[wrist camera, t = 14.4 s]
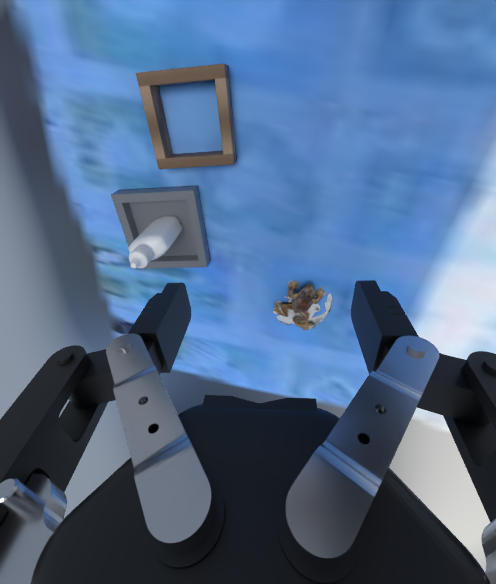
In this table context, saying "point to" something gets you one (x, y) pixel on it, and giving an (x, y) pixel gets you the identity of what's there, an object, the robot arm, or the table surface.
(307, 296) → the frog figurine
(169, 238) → the eye dropper bottle
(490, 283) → the table surface
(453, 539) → the robot arm
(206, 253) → the tray
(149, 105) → the holder collar
